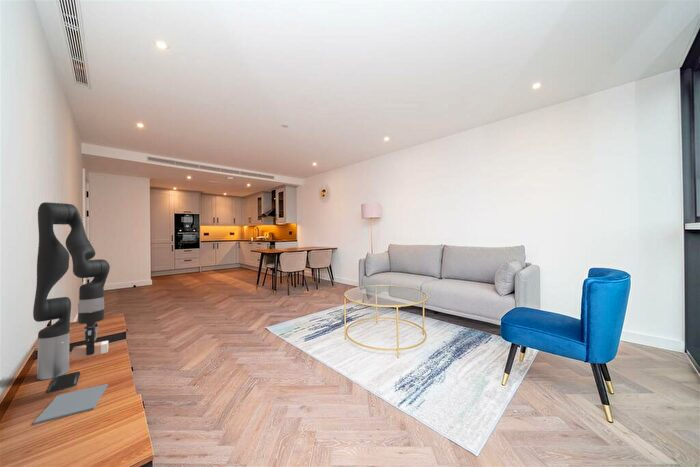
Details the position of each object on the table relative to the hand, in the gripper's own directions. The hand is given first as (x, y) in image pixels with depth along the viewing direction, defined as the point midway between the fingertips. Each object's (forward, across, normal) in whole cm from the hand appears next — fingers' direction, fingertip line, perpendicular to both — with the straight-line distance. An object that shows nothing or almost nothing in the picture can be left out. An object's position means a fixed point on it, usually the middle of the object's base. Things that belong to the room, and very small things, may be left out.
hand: (90, 352), depth 105 cm
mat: (+14, +11, -3) cm, 18 cm away
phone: (+14, -12, -8) cm, 20 cm away
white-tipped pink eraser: (+1, 0, 0) cm, 1 cm away
